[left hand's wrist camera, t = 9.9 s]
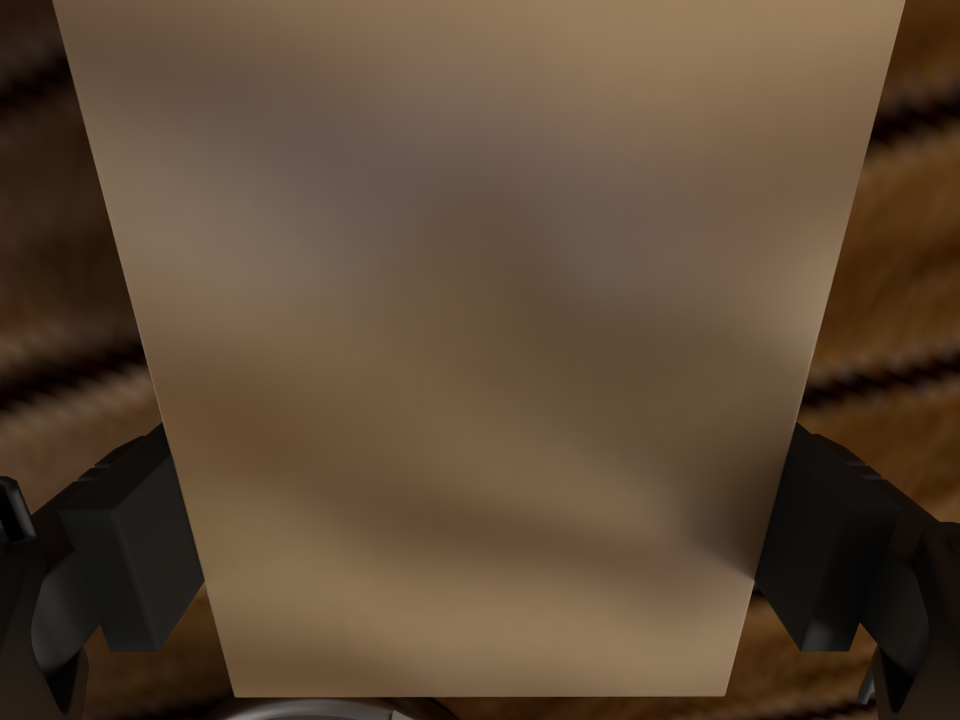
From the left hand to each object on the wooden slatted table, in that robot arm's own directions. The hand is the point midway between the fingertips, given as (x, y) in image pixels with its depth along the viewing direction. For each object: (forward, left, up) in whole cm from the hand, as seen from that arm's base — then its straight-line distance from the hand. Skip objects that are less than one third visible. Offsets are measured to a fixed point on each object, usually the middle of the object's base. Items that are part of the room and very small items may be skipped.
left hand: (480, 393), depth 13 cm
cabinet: (+2, +6, -4) cm, 8 cm away
